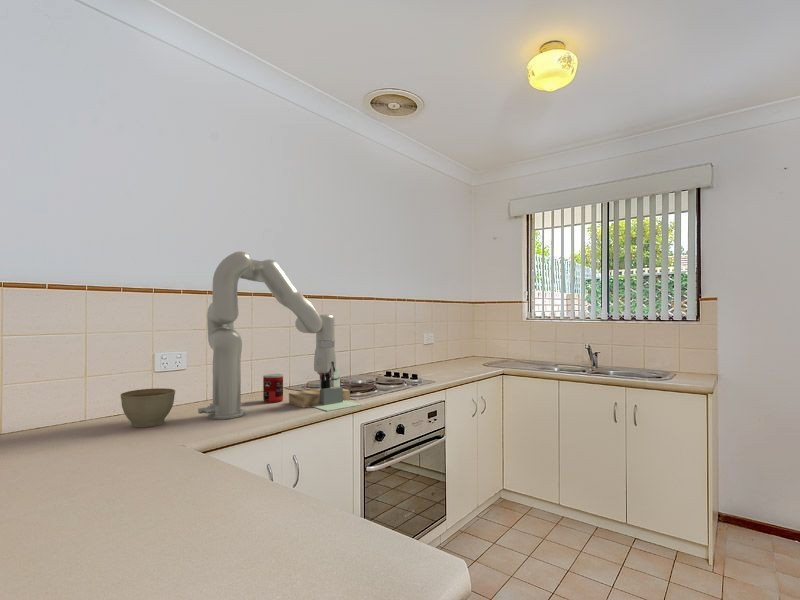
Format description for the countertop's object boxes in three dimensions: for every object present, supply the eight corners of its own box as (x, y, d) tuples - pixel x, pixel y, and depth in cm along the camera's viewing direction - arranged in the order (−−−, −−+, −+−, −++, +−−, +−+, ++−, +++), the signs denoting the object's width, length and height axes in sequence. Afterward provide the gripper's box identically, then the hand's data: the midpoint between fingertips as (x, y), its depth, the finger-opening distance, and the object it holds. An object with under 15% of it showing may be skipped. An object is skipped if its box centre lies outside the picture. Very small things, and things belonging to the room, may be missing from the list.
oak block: (303, 407, 174) (303, 397, 174) (289, 403, 183) (288, 393, 183) (349, 399, 188) (349, 390, 188) (334, 395, 197) (334, 386, 197)
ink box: (340, 392, 205) (340, 366, 205) (333, 394, 201) (333, 368, 201) (326, 390, 210) (326, 365, 210) (319, 392, 205) (319, 366, 206)
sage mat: (327, 411, 167) (327, 410, 167) (311, 406, 175) (311, 406, 175) (361, 405, 177) (361, 404, 177) (345, 401, 186) (345, 400, 186)
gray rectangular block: (319, 404, 178) (323, 405, 176) (319, 389, 178) (323, 390, 176) (338, 401, 184) (342, 402, 182) (338, 386, 184) (342, 387, 182)
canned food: (263, 400, 189) (263, 374, 189) (282, 398, 191) (282, 373, 192) (263, 403, 182) (263, 376, 182) (283, 402, 184) (283, 375, 184)
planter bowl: (151, 432, 140) (151, 397, 141) (108, 429, 144) (108, 395, 144) (185, 419, 156) (185, 388, 156) (145, 417, 159) (146, 387, 160)
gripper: (307, 344, 186) (308, 388, 185) (327, 346, 175) (327, 393, 174) (323, 343, 191) (323, 386, 190) (343, 345, 180) (343, 390, 179)
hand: (325, 389), depth 182 cm, fingers closed
